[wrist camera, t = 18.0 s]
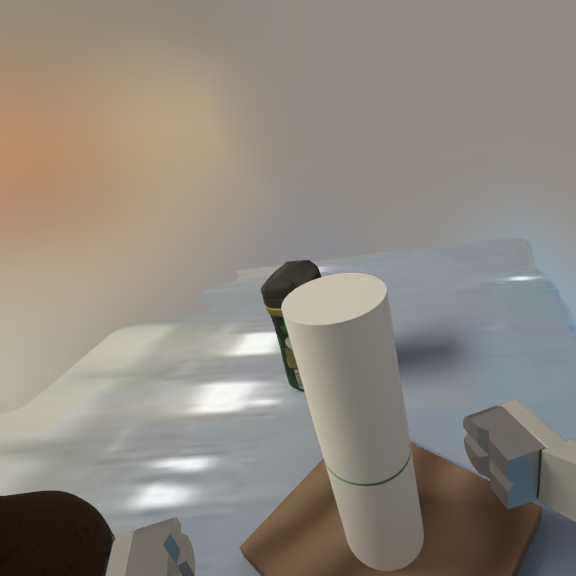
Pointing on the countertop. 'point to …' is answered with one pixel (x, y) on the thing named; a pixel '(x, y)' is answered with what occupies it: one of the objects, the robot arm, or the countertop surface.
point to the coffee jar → (273, 297)
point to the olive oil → (52, 536)
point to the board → (435, 517)
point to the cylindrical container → (358, 412)
